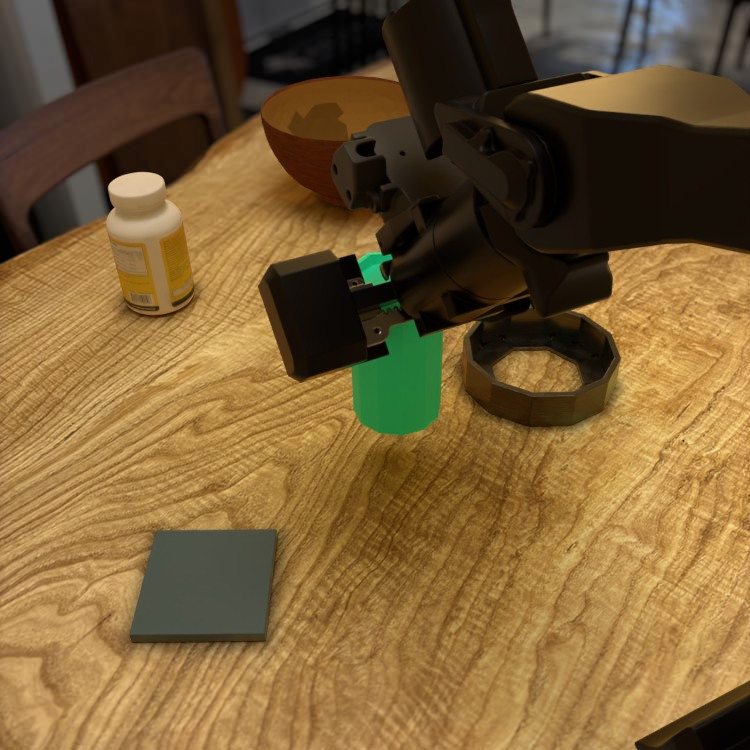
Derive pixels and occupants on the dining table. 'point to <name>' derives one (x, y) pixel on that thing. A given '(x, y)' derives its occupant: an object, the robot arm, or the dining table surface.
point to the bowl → (325, 123)
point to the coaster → (206, 586)
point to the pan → (530, 332)
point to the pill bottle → (149, 245)
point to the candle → (398, 373)
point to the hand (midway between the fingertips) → (387, 316)
